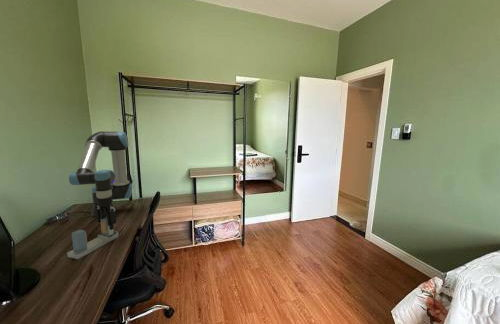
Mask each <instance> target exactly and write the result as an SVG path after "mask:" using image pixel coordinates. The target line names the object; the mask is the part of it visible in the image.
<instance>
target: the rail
mask: <svg viewBox="0 0 500 324" xmlns="http://www.w3.org/2000/svg"><path fill="white" fill-rule="evenodd" d="M113 232H114V233H113V234H112V235H110V236H104V235H102V234H98V235H97V237H95V238H93V239H91V240H90V241H88V237H87V232H86V230H83V229H78V230H75V231H74V232H73V231H72V232H71V240H72V248H73V249H72V250H70V251H68V252H66V253H67V254H66V255H67V258H70V259H75V260H80V259H82V258H83V257H85V256H87V255H88V254H90V253H92V252H94V251H96V250H97V249H99V248H101V247H103V246H104V245H106V244H108V243H110V242H112V241H114V240H115V239H117V238H119V232H118V231H117V230H113Z"/></svg>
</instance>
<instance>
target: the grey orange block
mask: <svg viewBox="0 0 500 324" xmlns="http://www.w3.org/2000/svg"><path fill="white" fill-rule="evenodd" d="M108 224H109V223H108V220H107V216H106V218H103V219H101V224H100V230H101V235H104V236H109V235H108ZM113 233H114V232H113Z"/></svg>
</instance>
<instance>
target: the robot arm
mask: <svg viewBox="0 0 500 324" xmlns="http://www.w3.org/2000/svg"><path fill="white" fill-rule="evenodd" d="M129 144H130V143H129V139H128V136H127V133H126V132H124V131H101V130H100V131H98V132H95V133H93V134H92V135H90V136H89V137H88V138H87V139H86V140H85V143H84V147H85V149H84V152H83V154H82V157H81V159H80V162H79V165H78V167H77V169H76V170H77V171H76V172H75V171H74V172H71V173H70V174H69V176H68V180H69V183H70V185H72V186H83V185H94V186H93V187H92V188H91V194H92V204H93V205H92V210H91V216H92V217H94V218H96V220H97V221H96V222H97V223H100V225H101V219H103V218H106V217H107V220H108V223H109V224H108V235H109V236H110V235H112V234H113V231H114V224H116V223H117V212H116V211H117V207H115V206H114V204H113V201H114V200H115V201H116V200H125V199H130V198H131V197H132V193H133V184H132V183H130V180H128V173H127V163H126V153H125V151H126V150H127V148H128V147H129ZM102 148H107V149H108V151H110V154H111V163H112V170H110V169H103V170H102V169H101V170H96V171H94V168H95V164H96V161H97V158H98V155H99V152H100V151H101V150H102Z"/></svg>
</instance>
